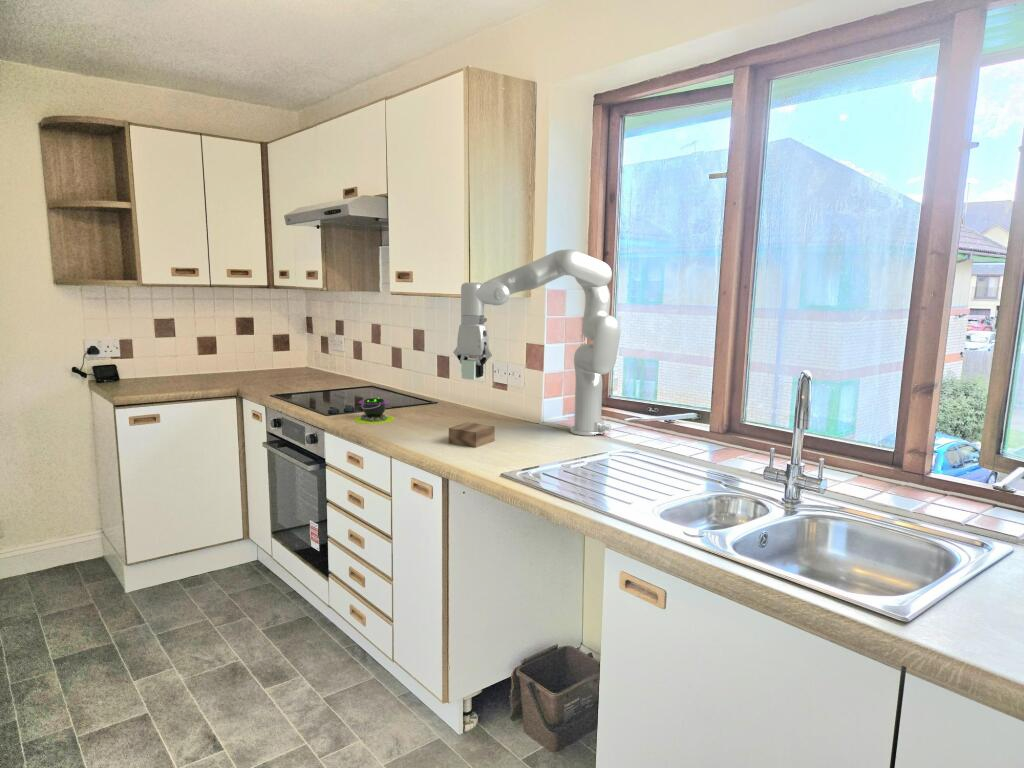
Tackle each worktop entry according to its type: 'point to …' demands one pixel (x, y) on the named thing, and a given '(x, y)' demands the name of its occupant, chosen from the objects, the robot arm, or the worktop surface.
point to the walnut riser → (471, 434)
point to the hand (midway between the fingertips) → (472, 375)
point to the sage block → (469, 369)
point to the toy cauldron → (374, 411)
